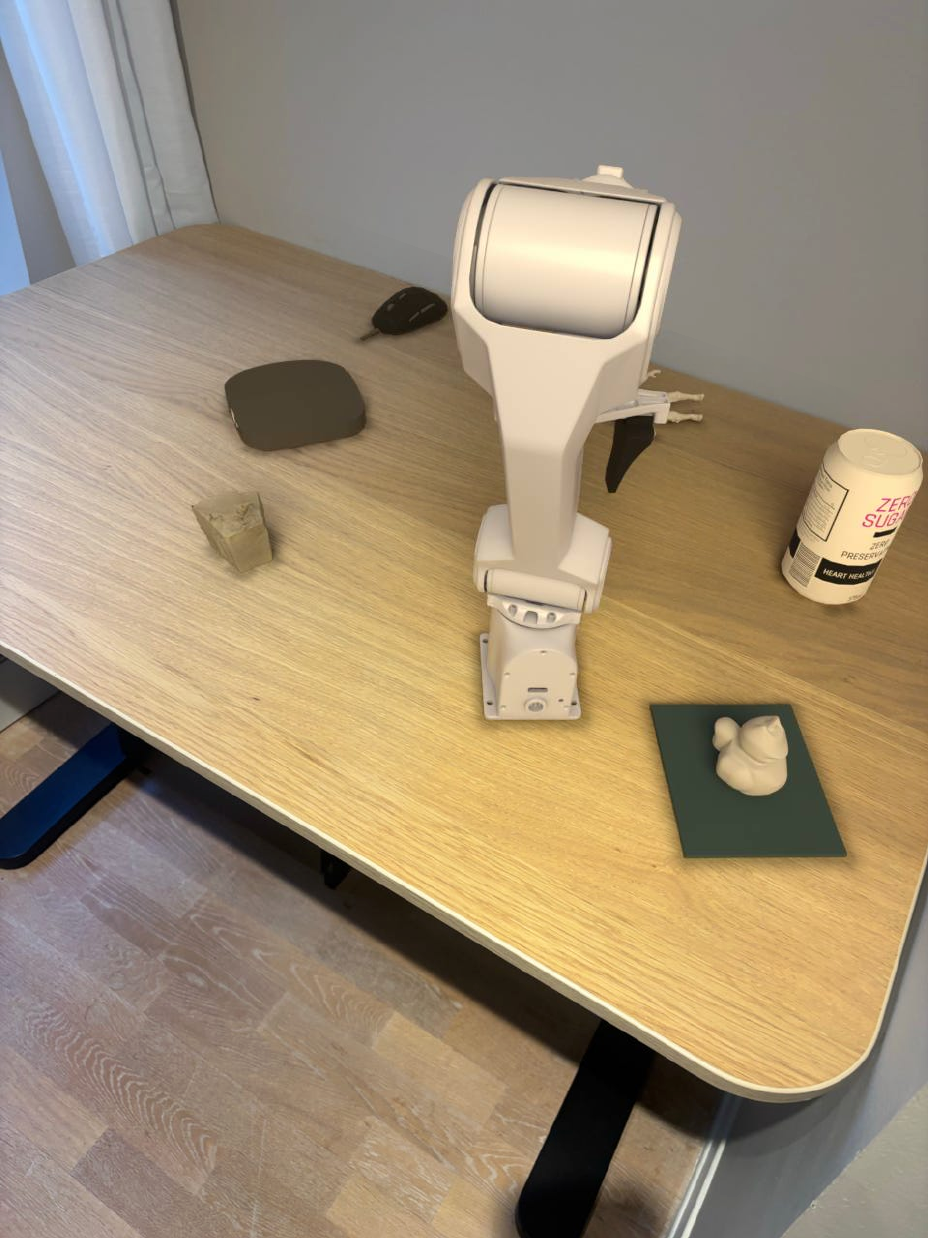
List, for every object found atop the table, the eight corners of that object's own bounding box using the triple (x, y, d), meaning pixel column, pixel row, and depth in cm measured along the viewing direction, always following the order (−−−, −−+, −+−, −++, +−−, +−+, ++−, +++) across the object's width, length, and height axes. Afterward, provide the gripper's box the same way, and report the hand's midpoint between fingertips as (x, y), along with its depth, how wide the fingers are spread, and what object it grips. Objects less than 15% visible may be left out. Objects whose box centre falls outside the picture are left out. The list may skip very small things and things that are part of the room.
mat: (845, 857, 64) (847, 854, 64) (684, 858, 63) (685, 855, 63) (789, 707, 74) (791, 704, 73) (649, 707, 73) (650, 704, 73)
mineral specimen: (178, 557, 83) (177, 481, 78) (258, 537, 88) (262, 465, 83) (216, 597, 79) (218, 521, 74) (298, 574, 84) (304, 501, 80)
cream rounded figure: (749, 820, 65) (781, 758, 60) (684, 761, 69) (708, 696, 63) (795, 785, 68) (830, 721, 62) (729, 729, 71) (757, 664, 66)
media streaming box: (374, 435, 100) (373, 412, 97) (246, 458, 95) (242, 435, 93) (339, 372, 109) (337, 350, 107) (221, 391, 105) (217, 369, 103)
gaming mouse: (345, 331, 116) (344, 303, 114) (424, 298, 124) (425, 270, 121) (377, 349, 114) (376, 320, 111) (456, 313, 121) (457, 286, 119)
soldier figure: (701, 444, 103) (616, 426, 98) (675, 450, 107) (593, 433, 102) (706, 378, 103) (622, 357, 98) (680, 388, 108) (598, 368, 103)
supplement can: (799, 541, 89) (852, 414, 79) (878, 578, 86) (943, 449, 75) (764, 581, 85) (815, 452, 74) (846, 621, 81) (911, 492, 71)
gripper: (670, 325, 72) (640, 461, 82) (496, 320, 71) (486, 458, 81) (688, 368, 67) (653, 507, 77) (501, 364, 67) (490, 505, 76)
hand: (568, 485), depth 79 cm, fingers open, 7 cm apart
